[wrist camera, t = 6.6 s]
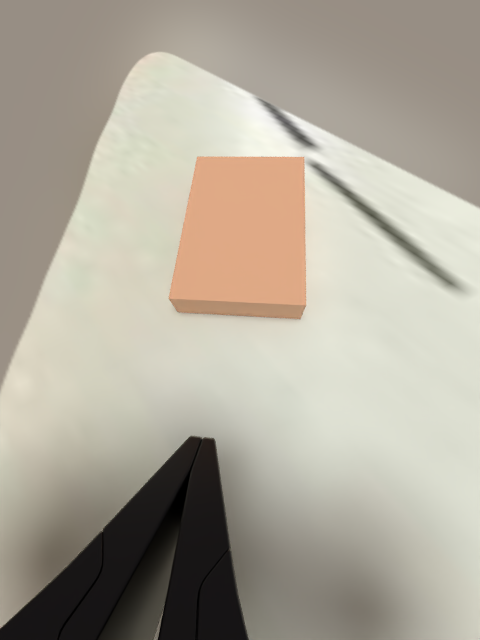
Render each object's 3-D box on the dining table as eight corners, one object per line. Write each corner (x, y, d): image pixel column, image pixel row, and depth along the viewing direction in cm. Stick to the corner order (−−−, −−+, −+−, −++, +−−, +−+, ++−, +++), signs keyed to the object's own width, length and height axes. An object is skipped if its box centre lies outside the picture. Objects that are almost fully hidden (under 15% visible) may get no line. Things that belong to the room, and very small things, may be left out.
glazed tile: (306, 305, 15) (304, 157, 19) (168, 298, 15) (197, 156, 20) (299, 321, 17) (298, 185, 21) (180, 314, 18) (203, 184, 22)
